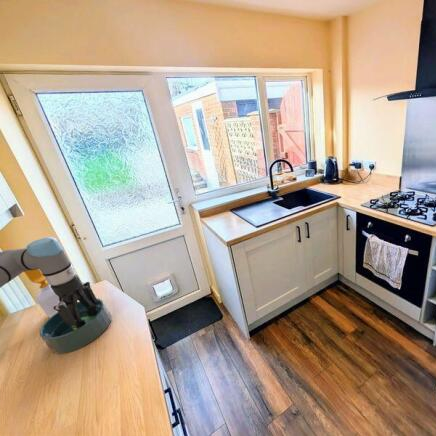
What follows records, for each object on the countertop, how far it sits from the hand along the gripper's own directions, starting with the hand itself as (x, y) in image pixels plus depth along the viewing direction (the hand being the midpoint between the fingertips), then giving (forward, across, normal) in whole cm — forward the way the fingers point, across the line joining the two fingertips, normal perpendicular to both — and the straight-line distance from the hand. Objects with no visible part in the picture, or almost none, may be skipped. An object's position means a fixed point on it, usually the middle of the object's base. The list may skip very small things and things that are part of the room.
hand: (92, 327), depth 95 cm
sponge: (0, 0, +1) cm, 1 cm away
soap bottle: (+2, +13, +25) cm, 28 cm away
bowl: (+2, 0, +5) cm, 5 cm away
